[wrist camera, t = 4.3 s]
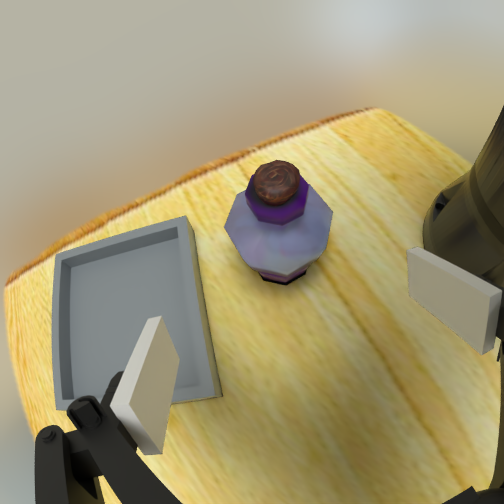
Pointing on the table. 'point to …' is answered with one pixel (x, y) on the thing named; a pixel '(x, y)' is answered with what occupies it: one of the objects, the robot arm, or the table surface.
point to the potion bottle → (279, 223)
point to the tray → (130, 311)
